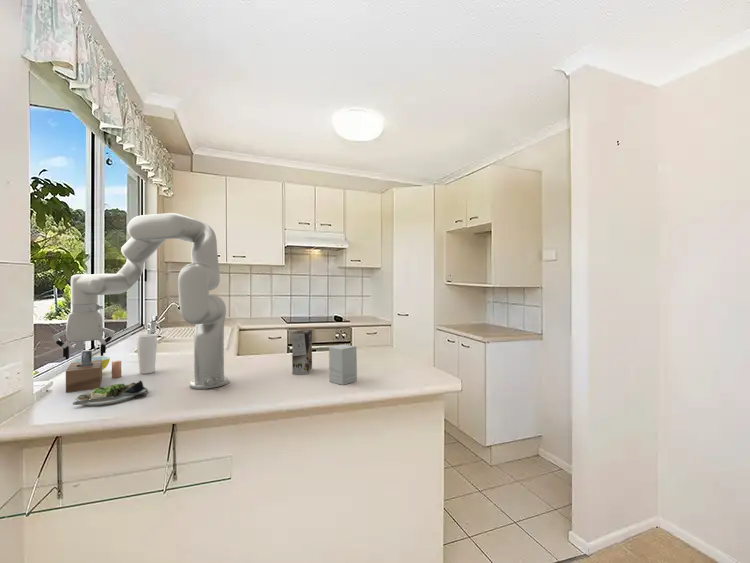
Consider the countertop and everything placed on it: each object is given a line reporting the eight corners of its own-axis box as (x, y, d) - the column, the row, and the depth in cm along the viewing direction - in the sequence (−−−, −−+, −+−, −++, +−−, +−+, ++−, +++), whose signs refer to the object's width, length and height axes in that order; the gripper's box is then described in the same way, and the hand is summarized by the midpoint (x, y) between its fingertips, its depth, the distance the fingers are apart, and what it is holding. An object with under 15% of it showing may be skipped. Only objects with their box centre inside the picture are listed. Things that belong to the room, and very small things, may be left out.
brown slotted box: (100, 387, 124) (99, 367, 124) (65, 392, 118) (65, 371, 118) (102, 377, 137) (102, 359, 137) (71, 381, 132) (71, 362, 132)
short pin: (121, 377, 137) (121, 361, 137) (111, 378, 136) (111, 362, 136) (121, 375, 140) (121, 360, 140) (111, 376, 138) (111, 361, 138)
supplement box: (357, 381, 130) (357, 346, 130) (342, 385, 125) (342, 349, 125) (343, 377, 135) (343, 343, 135) (328, 381, 130) (328, 346, 130)
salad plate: (86, 414, 99) (86, 398, 99) (57, 404, 108) (57, 389, 108) (157, 395, 116) (157, 381, 116) (127, 387, 125) (127, 374, 125)
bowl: (116, 371, 147) (116, 356, 147) (95, 378, 136) (95, 362, 136) (88, 371, 147) (88, 356, 147) (65, 379, 135) (64, 362, 135)
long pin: (90, 384, 127) (91, 350, 128) (79, 386, 126) (80, 351, 126) (91, 383, 130) (92, 349, 130) (80, 384, 128) (81, 350, 128)
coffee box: (308, 374, 140) (308, 333, 140) (291, 374, 140) (291, 333, 140) (312, 368, 149) (312, 329, 149) (297, 368, 149) (296, 329, 149)
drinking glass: (161, 370, 147) (160, 334, 147) (149, 374, 141) (148, 336, 141) (145, 370, 148) (145, 333, 148) (133, 374, 141) (132, 336, 141)
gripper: (114, 307, 136) (115, 352, 136) (53, 309, 126) (54, 358, 126) (114, 308, 130) (114, 355, 130) (50, 311, 120) (50, 362, 120)
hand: (85, 357), depth 128 cm, fingers open, 9 cm apart
